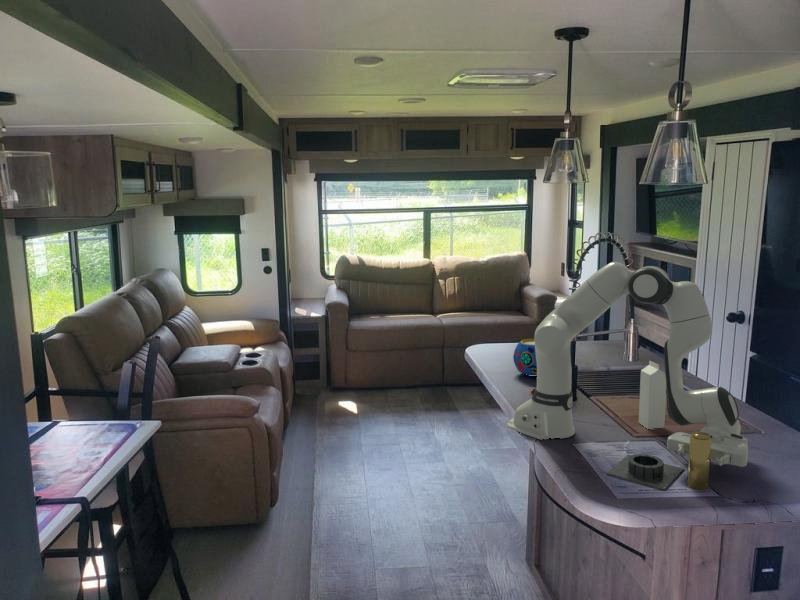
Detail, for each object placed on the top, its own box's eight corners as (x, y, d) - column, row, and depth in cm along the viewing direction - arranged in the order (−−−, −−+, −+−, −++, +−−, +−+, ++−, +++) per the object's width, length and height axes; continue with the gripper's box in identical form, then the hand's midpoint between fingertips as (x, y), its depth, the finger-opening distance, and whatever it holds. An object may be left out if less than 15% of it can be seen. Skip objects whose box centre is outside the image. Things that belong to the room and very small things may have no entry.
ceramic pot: (517, 382, 268) (517, 347, 266) (509, 370, 286) (510, 337, 283) (559, 381, 268) (559, 346, 266) (549, 369, 286) (549, 336, 283)
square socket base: (606, 474, 180) (606, 462, 180) (627, 456, 192) (628, 445, 192) (664, 490, 170) (665, 478, 169) (683, 470, 182) (684, 458, 182)
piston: (684, 486, 172) (688, 435, 170) (690, 480, 176) (693, 429, 173) (704, 492, 169) (708, 439, 166) (710, 485, 173) (713, 433, 170)
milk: (654, 422, 219) (657, 359, 216) (664, 428, 213) (668, 364, 210) (638, 423, 218) (641, 360, 215) (647, 430, 213) (650, 365, 209)
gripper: (675, 423, 187) (659, 437, 177) (753, 439, 174) (741, 456, 164) (674, 443, 188) (658, 459, 178) (752, 461, 175) (739, 479, 165)
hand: (699, 458), depth 171 cm, fingers open, 8 cm apart
